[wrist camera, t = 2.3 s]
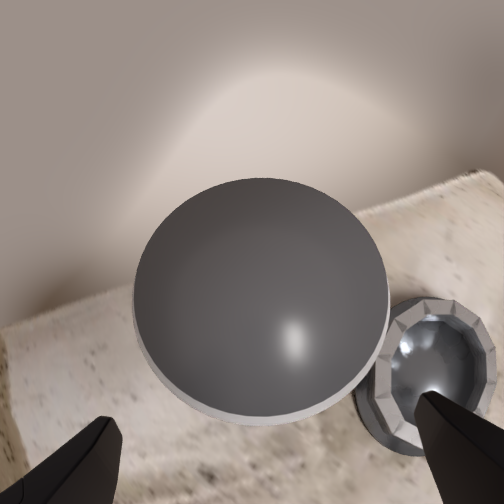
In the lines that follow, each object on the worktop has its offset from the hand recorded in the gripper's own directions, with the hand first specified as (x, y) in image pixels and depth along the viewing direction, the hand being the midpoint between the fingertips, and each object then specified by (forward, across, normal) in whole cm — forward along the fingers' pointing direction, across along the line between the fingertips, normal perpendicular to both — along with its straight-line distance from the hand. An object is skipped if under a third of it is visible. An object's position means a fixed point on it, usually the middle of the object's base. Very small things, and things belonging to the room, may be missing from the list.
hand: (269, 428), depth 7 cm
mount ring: (+8, -11, +7) cm, 15 cm away
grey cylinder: (+9, 0, +5) cm, 11 cm away
